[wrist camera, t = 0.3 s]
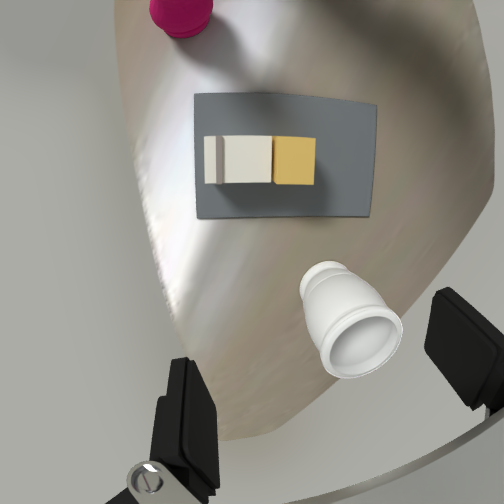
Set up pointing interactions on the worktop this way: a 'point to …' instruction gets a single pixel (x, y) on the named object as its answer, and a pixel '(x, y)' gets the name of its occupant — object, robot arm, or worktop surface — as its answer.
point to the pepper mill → (181, 16)
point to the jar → (348, 321)
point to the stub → (293, 160)
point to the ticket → (237, 159)
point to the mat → (295, 125)
